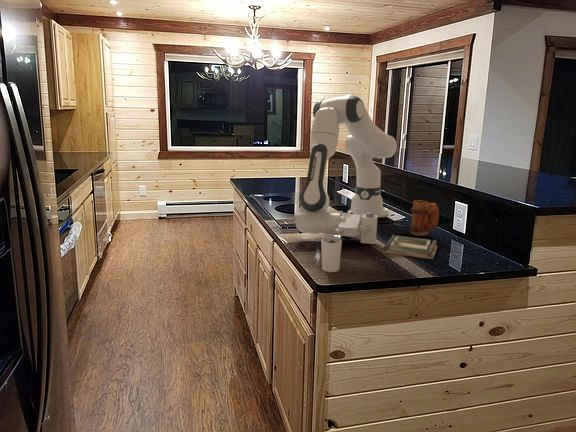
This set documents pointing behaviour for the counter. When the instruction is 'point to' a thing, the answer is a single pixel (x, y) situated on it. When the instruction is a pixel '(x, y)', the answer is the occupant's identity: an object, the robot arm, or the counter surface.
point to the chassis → (411, 247)
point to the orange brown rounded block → (423, 217)
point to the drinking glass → (331, 253)
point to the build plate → (347, 237)
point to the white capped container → (371, 220)
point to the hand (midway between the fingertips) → (371, 226)
